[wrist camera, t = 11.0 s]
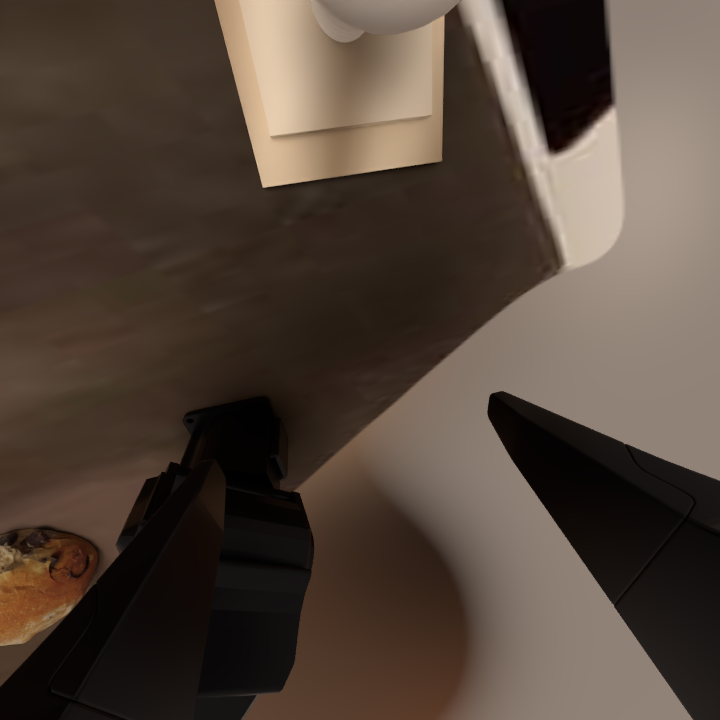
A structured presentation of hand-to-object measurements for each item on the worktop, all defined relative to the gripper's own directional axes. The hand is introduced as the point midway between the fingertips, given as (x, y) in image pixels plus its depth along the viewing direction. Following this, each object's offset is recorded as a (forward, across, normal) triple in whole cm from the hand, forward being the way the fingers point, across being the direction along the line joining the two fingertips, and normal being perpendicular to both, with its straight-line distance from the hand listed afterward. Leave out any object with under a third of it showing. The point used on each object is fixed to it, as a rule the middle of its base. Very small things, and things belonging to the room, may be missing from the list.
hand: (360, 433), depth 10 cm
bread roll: (+13, +31, +19) cm, 39 cm away
